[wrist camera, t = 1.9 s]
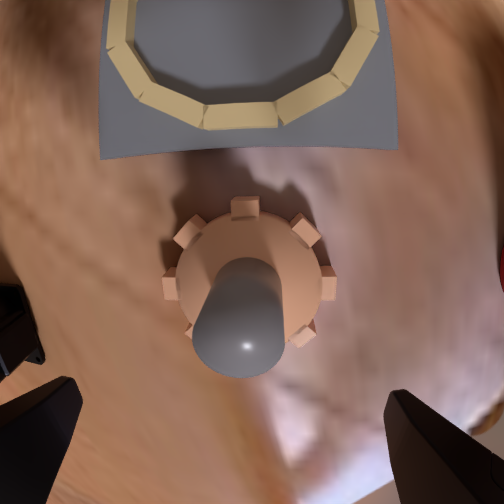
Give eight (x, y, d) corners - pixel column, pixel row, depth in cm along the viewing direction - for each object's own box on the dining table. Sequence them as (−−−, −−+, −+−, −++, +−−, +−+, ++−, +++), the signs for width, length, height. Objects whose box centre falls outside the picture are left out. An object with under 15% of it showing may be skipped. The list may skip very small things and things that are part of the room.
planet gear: (181, 343, 18) (149, 414, 12) (164, 199, 15) (106, 226, 10) (325, 344, 17) (342, 420, 12) (333, 195, 15) (369, 221, 9)
